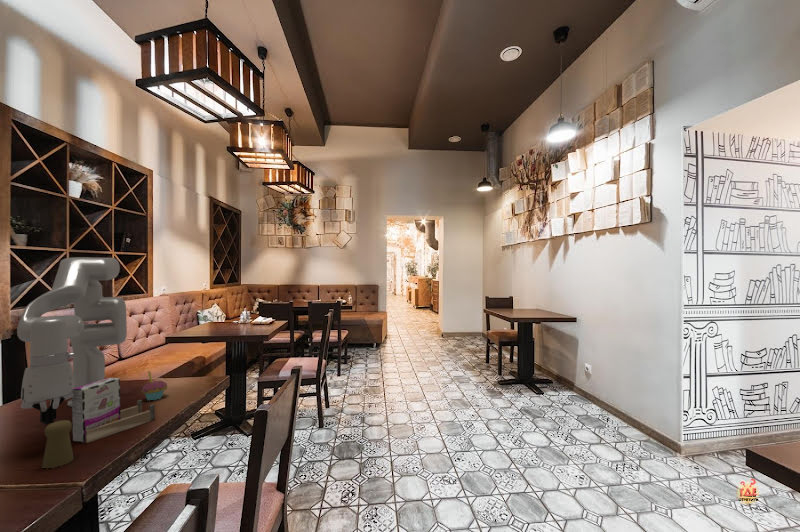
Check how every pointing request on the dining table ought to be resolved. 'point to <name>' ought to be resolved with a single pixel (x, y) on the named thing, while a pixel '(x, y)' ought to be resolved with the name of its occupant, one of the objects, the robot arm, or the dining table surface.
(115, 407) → the candy bar box
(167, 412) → the dining table surface
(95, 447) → the dining table surface
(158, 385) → the cupcake
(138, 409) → the chute
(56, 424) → the cork
